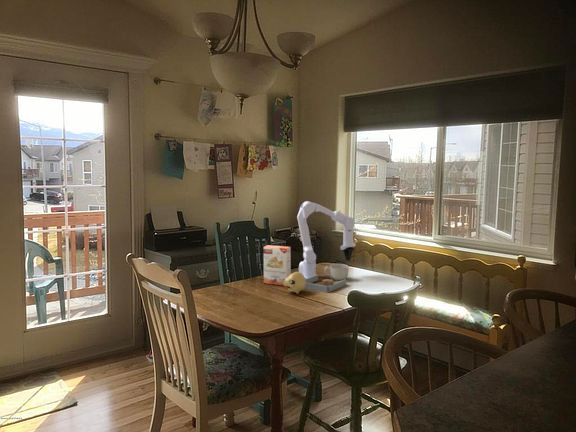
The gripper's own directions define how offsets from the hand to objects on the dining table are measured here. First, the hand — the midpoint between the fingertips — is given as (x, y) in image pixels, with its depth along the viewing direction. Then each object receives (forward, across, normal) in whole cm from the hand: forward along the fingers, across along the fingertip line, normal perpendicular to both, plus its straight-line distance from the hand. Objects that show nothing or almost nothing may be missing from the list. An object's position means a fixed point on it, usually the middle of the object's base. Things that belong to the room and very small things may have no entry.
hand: (348, 260), depth 269 cm
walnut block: (+10, -33, -7) cm, 35 cm away
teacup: (+10, -11, +1) cm, 15 cm away
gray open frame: (+9, -28, 0) cm, 29 cm away
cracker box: (+10, -39, +22) cm, 46 cm away
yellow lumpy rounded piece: (+10, -48, +4) cm, 49 cm away
